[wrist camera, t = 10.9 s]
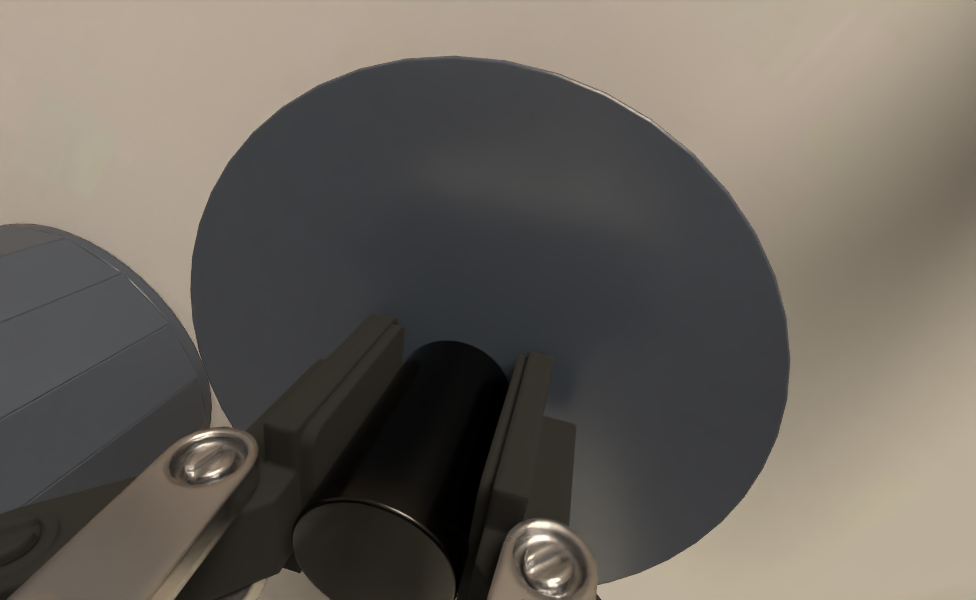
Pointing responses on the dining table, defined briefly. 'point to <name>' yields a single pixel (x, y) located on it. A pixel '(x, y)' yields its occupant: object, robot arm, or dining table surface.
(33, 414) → the pot
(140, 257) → the dining table surface
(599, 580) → the lid
